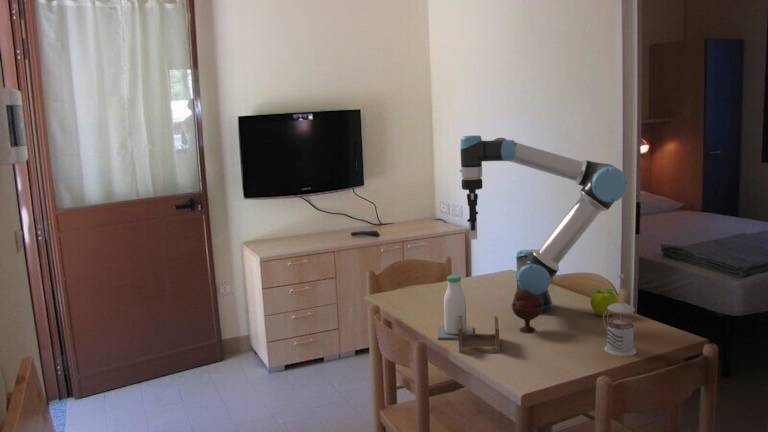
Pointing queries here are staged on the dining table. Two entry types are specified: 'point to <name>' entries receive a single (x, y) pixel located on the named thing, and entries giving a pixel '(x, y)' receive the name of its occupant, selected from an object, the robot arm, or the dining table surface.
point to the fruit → (602, 301)
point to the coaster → (445, 336)
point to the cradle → (479, 336)
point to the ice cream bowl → (527, 308)
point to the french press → (620, 330)
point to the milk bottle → (454, 306)
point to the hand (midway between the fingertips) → (473, 235)
